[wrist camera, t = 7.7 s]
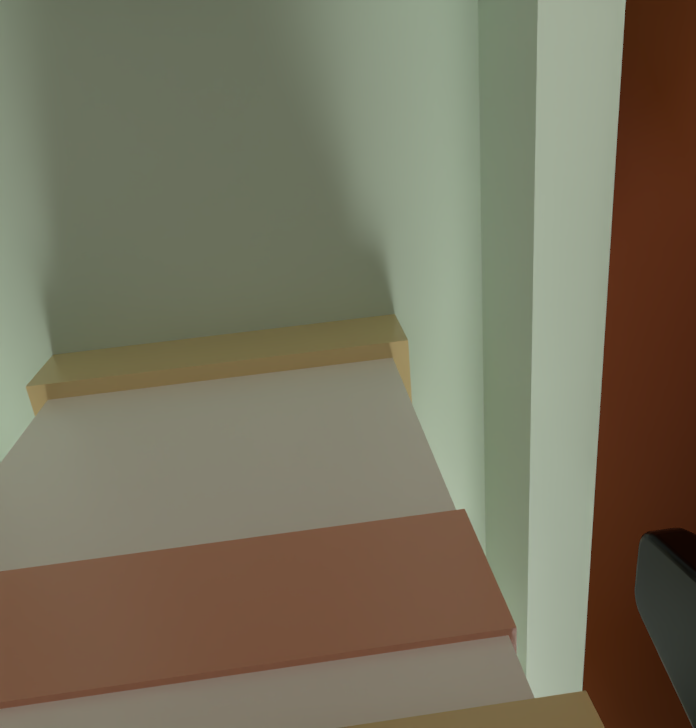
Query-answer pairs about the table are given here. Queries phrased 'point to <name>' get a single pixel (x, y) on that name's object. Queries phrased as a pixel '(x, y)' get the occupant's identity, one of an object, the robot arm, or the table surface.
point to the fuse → (248, 547)
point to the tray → (340, 225)
